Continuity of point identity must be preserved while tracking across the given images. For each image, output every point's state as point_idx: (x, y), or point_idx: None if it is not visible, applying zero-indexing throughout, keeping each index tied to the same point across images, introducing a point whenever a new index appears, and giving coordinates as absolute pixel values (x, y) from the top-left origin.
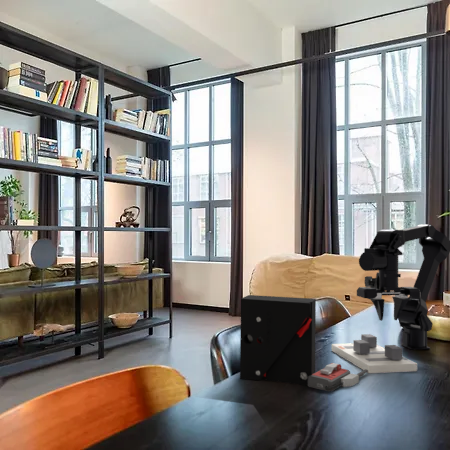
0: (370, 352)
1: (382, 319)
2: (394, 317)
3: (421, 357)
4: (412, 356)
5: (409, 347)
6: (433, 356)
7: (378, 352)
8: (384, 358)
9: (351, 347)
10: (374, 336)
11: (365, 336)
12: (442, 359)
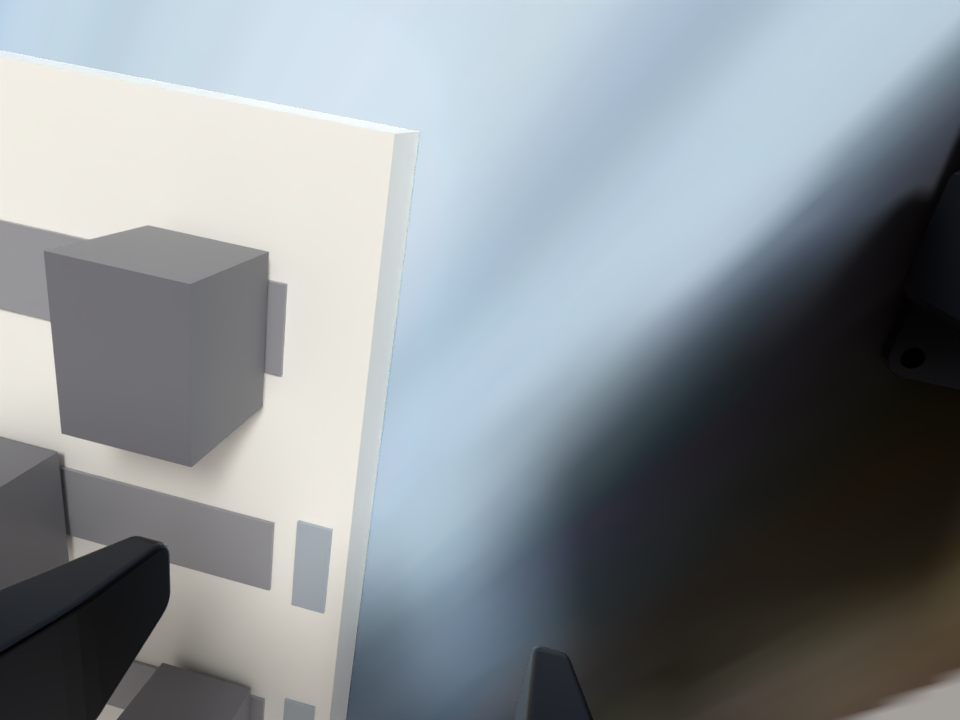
0: (116, 509)
1: (147, 632)
2: (519, 710)
3: (684, 596)
4: (627, 541)
5: (906, 312)
6: (844, 622)
7: (191, 538)
8: (146, 678)
9: (1, 282)
10: (178, 430)
11: (57, 378)
12: (819, 711)
